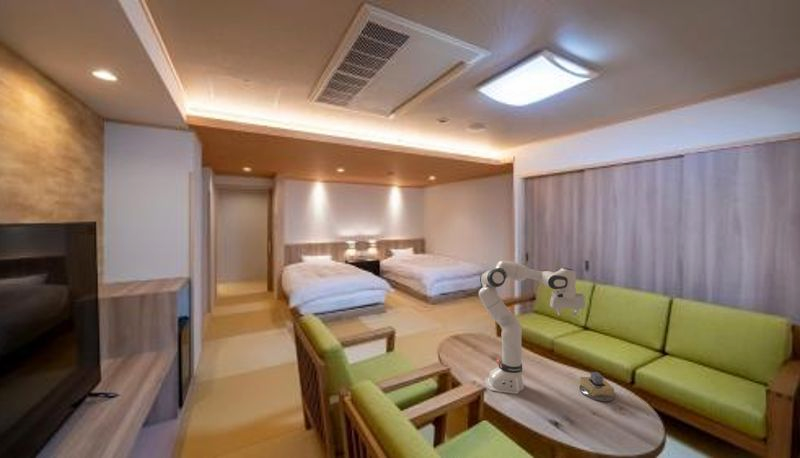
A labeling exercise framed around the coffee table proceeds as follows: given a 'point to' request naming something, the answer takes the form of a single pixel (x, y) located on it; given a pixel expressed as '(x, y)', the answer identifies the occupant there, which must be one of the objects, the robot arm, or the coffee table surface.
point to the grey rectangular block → (596, 379)
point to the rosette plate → (596, 390)
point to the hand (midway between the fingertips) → (567, 315)
